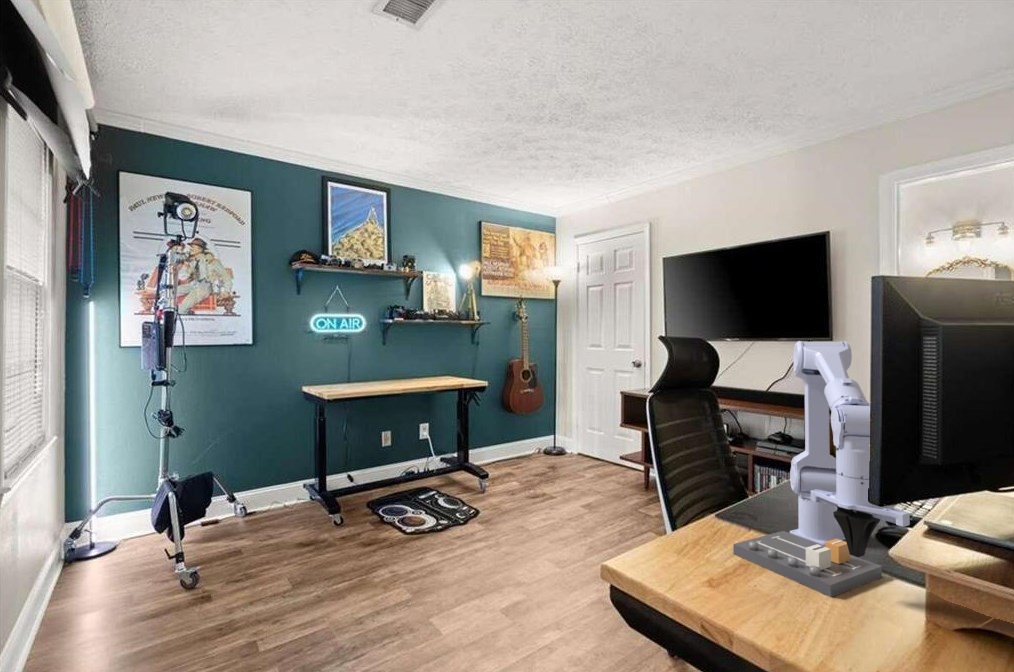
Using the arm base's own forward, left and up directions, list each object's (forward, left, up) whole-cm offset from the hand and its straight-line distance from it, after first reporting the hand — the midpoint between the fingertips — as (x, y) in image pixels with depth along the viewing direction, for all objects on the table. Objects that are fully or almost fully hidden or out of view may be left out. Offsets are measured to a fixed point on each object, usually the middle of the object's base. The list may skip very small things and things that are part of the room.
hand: (857, 554), depth 84 cm
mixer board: (-3, -11, -7) cm, 13 cm away
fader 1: (0, -7, -5) cm, 8 cm away
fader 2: (-6, -7, -4) cm, 10 cm away
